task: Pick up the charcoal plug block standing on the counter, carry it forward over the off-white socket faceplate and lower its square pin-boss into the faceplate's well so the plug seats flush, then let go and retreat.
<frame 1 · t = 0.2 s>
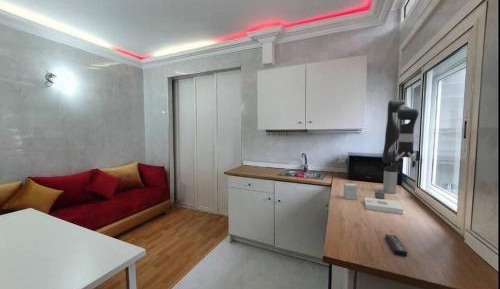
hand: (404, 166, 136), 28 cm above the kitchen counter, fingers open, 8 cm apart
small box: (350, 198, 163), on the kitchen counter
plug: (379, 201, 157), on the kitchen counter
socket plate: (381, 207, 145), on the kitchen counter
multiport hub: (395, 247, 97), on the kitchen counter
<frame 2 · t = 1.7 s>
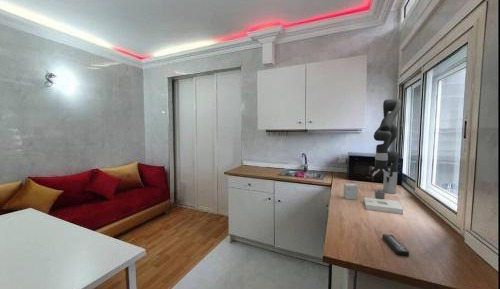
hand: (380, 181, 155), 14 cm above the kitchen counter, fingers open, 8 cm apart
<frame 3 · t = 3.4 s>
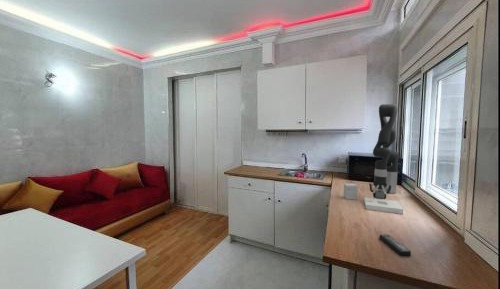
hand: (379, 198, 156), 2 cm above the kitchen counter, fingers closed on plug, 5 cm apart
plug: (379, 201, 157), on the kitchen counter, touching gripper
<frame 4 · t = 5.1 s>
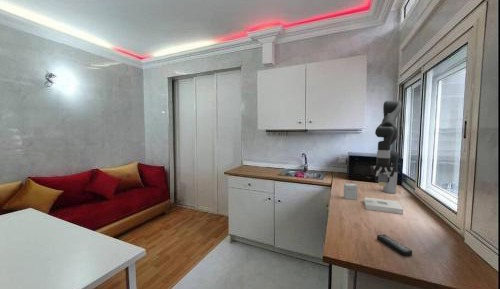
hand: (382, 182, 145), 17 cm above the kitchen counter, fingers closed on plug, 5 cm apart
plug: (381, 185, 145), point 15 cm above the kitchen counter, touching gripper
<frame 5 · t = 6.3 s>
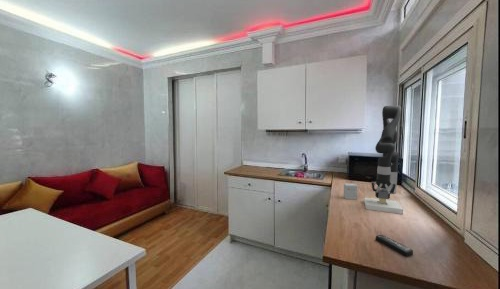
hand: (382, 198, 144), 6 cm above the kitchen counter, fingers closed on plug, 5 cm apart
plug: (382, 201, 144), point 4 cm above the kitchen counter, touching gripper
when the fingers open (3 cm above the kitchen counter, at t = 7.3 s): plug drops 1 cm, resting in socket plate.
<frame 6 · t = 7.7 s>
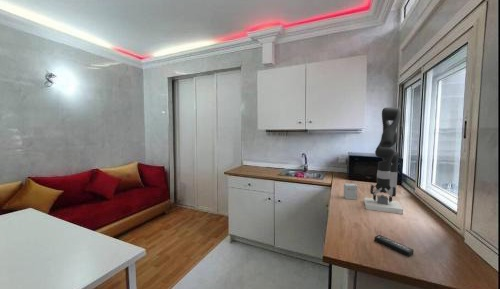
hand: (382, 201, 144), 4 cm above the kitchen counter, fingers open, 8 cm apart
plug: (382, 207, 145), resting in socket plate
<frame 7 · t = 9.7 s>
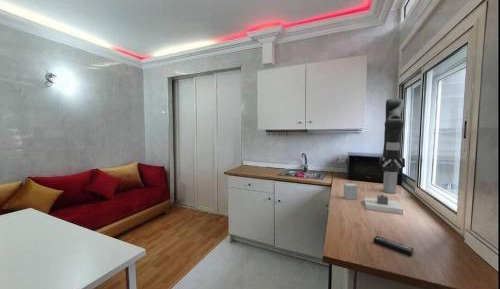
hand: (391, 172, 147), 22 cm above the kitchen counter, fingers open, 8 cm apart
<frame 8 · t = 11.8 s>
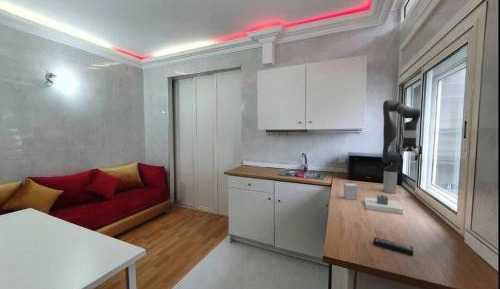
hand: (408, 160, 152), 30 cm above the kitchen counter, fingers open, 8 cm apart
at the end: plug 0.1 cm off-centre on the socket plate, point 0.0 cm above the socket plate's base; plug tilted 0°; the gripper is holding nothing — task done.
